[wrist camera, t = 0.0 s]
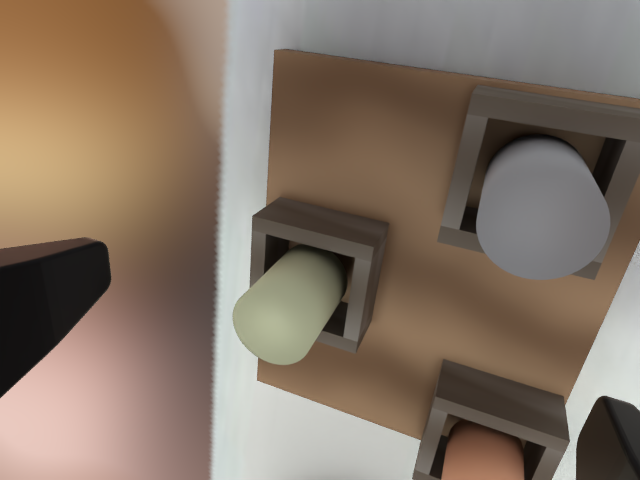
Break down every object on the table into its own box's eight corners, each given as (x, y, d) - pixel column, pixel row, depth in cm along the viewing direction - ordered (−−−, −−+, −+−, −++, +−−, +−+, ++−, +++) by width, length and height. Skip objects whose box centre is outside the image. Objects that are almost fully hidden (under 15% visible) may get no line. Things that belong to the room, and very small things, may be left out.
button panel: (530, 462, 25) (532, 529, 22) (265, 368, 30) (233, 412, 26) (687, 105, 17) (731, 124, 14) (285, 49, 21) (242, 52, 18)
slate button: (568, 234, 17) (584, 293, 13) (474, 213, 18) (463, 263, 14) (602, 144, 16) (631, 181, 12) (497, 126, 17) (493, 155, 13)
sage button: (342, 316, 22) (307, 375, 18) (278, 296, 23) (232, 349, 19) (352, 254, 21) (315, 304, 17) (282, 235, 22) (233, 279, 18)
